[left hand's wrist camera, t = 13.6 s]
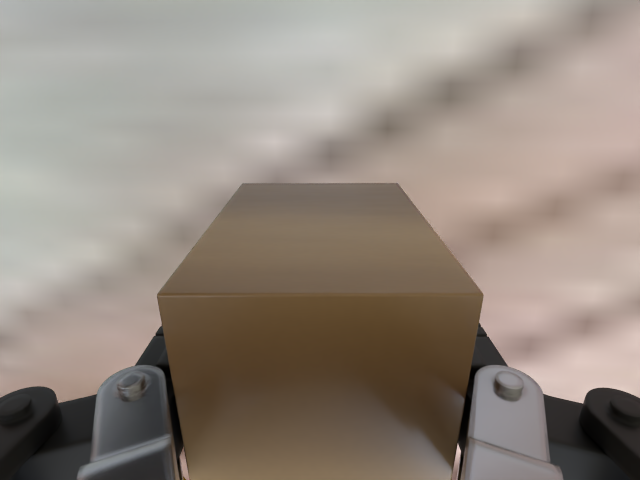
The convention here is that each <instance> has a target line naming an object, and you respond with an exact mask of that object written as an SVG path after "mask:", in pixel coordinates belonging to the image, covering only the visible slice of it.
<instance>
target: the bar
mask: <svg viewBox="0 0 640 480" xmlns="http://www.w3.org/2000/svg"><path fill="white" fill-rule="evenodd" d="M157 299H158V304H159V310H160V316H161V321H162V327H163V333H164V338H165V344H166V349H167V355H168V361H169V366H170V372H171V378H172V383H173V389H174V394H175V400H176V406H177V411H178V417H179V423H180V428H181V434H182V439H183V445H184V451H185V456H186V462H187V468H188V473H189V479H190V480H451V478H452V472H453V467H454V461H455V455H456V450H457V444H458V438H459V432H460V427H461V421H462V415H463V410H464V404H465V398H466V393H467V387H468V381H469V375H470V370H471V364H472V358H473V353H474V347H475V341H476V336H477V330H478V324H479V318H480V313H481V307H482V301H483V293H482V292H481V290H480V289H479V288H478V286H477V285H476V284H475V283H474V281H473V280H472V279H471V277H470V276H469V275H468V274H467V272H466V271H465V270H464V268H463V267H462V266H461V264H460V263H459V262H458V261H457V259H456V258H455V257H454V255H453V254H452V253H451V252H450V250H449V249H448V248H447V246H446V245H445V244H444V243H443V241H442V240H441V239H440V237H439V236H438V235H437V234H436V232H435V231H434V230H433V228H432V227H431V226H430V224H429V223H428V222H427V221H426V219H425V218H424V217H423V215H422V214H421V213H420V212H419V210H418V209H417V208H416V206H415V205H414V204H413V203H412V201H411V200H410V199H409V197H408V196H407V195H406V194H405V192H404V191H403V190H402V188H401V187H400V186H399V185H398V184H397V183H245V184H242V185H241V186H240V187H239V189H238V190H237V191H236V193H235V194H234V195H233V196H232V198H231V199H230V200H229V202H228V203H227V204H226V206H225V207H224V208H223V209H222V211H221V212H220V213H219V215H218V216H217V217H216V219H215V220H214V221H213V222H212V224H211V225H210V226H209V228H208V229H207V230H206V232H205V233H204V234H203V235H202V237H201V238H200V239H199V241H198V242H197V243H196V245H195V246H194V247H193V248H192V250H191V251H190V252H189V254H188V255H187V256H186V258H185V259H184V260H183V261H182V263H181V264H180V265H179V267H178V268H177V269H176V271H175V272H174V273H173V274H172V276H171V277H170V278H169V280H168V281H167V282H166V284H165V285H164V286H163V287H162V289H161V290H160V291H159V293H158V294H157Z"/></svg>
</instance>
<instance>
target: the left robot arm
mask: <svg viewBox="0 0 640 480" xmlns="http://www.w3.org/2000/svg"><path fill="white" fill-rule="evenodd" d="M458 444H459V447H460V450H461V455H460V460H459V466H458V474H457V480H640V398H638V397H636V396H634V395H631V394H629V393H626V392H624V391H620V390H616V389H611V388H596V389H592V390H590V391H589V392H588V393H587V395H586V397H585V400H584V403H583V404H582V403H577V402H573V401H569V400H564V399H560V398H555V397H552V396H548V395H545V394H543V392H542V390H541V388H540V386H539V385H538V384H537V383H536V382H535V381H534V380H533V379H532V378H531V377H530V376H528V375H526V374H525V373H523V372H521V371H519V370H517V369H514V368H511V367H508V366H507V364H506V363H505V361H504V360H503V358H502V357H501V355H500V354H499V352H498V351H497V349H496V347H495V346H494V344H493V343H492V341H491V340H490V338H489V337H487V334H486V332H485V331H484V329H483V328H482V327H481V325H480V323H479V324H478V330H477V336H476V341H475V347H474V353H473V358H472V364H471V370H470V375H469V381H468V387H467V393H466V398H465V404H464V410H463V415H462V421H461V427H460V432H459V438H458ZM183 446H184V445H183V439H182V434H181V428H180V423H179V417H178V411H177V406H176V400H175V394H174V389H173V383H172V378H171V372H170V366H169V361H168V355H167V349H166V344H165V338H164V333H163V327H160V328H159V329H158V331H157V333H156V336H154V337H153V339H152V340H151V342H150V343H149V345H148V346H147V348H146V349H145V351H144V353H143V354H142V356H141V357H140V359H139V360H138V362H137V363H136V365H135V366H133V367H129V368H126V369H123V370H121V371H119V372H117V373H115V374H114V375H112V376H110V377H109V378H108V379H107V380H106V381H105V382H104V383H103V384H102V385H101V386H100V388H99V390H98V392H97V394H96V395H92V396H88V397H84V398H80V399H75V400H71V401H66V402H62V403H58V400H57V397H56V394H55V393H54V391H53V390H52V389H49V388H47V387H29V388H24V389H20V390H17V391H14V392H12V393H9V394H7V395H5V396H3V397H1V398H0V480H183V474H182V466H181V460H180V454H181V451H182V448H183Z"/></svg>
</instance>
